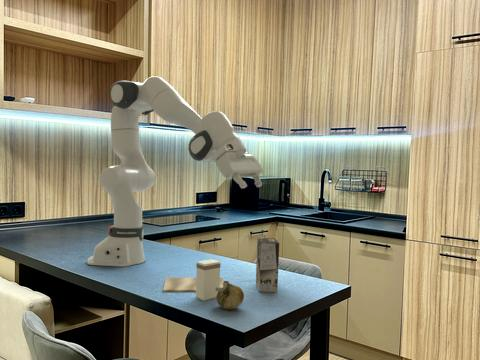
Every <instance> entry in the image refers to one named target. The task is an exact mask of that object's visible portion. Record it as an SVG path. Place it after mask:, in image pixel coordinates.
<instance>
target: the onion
mask: <svg viewBox="0 0 480 360" xmlns="http://www.w3.org/2000/svg"><path fill="white" fill-rule="evenodd" d="M222 284H223V287H221V288H220V287H216V291H218V293H217V296H216V298H215V299H216V303H217V304H218V305H219V307H220V308H222V309H224V310H234V309H235V310H236V309H237V308H238V307H240V305H241V304H242V303H243V301H244V298H245V294H244V291H243V289H242V288H241V287H240V286H237V285H235V284H233V283H230V281H228V280H224V283H222Z"/></svg>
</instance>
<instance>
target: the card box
mask: <svg viewBox="0 0 480 360" xmlns="http://www.w3.org/2000/svg"><path fill="white" fill-rule="evenodd" d="M195 267H196V276H195V278H196V292H195V298H197V299H200V300H201V301H207V300H212V299H216V296H217V293H218V291H216V287H220V278H221V261H219V260H216V259H213V258H212V259H205V260H199V261H196V266H195Z"/></svg>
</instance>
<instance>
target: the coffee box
mask: <svg viewBox="0 0 480 360" xmlns="http://www.w3.org/2000/svg"><path fill="white" fill-rule="evenodd" d="M279 257H280V242H279V241H278V240H277V239H276V238H274V237H271V238H270V237H269V238H268V237H267V238H265V237H264V238H256V261H255V262H256V263H255V265H256V267H255V271H256V272H255V285H256V287H257V290H258V292H264V293H265V292H268V293H269V292H270V293H271V292H273V293H276V292H277V293H278V286H279V284H278V283H279V260H280V258H279Z"/></svg>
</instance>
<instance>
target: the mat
mask: <svg viewBox="0 0 480 360" xmlns="http://www.w3.org/2000/svg"><path fill="white" fill-rule="evenodd" d="M224 281H225V280H224V277H220V288H221V287H223V284H222V283H224ZM162 292H163V293H169V292H170V293H176V292H178V293H181V292H184V293H185V292H186V293H191V292H192V293H194V292H195V293H196V277H165V280H164V284H163V288H162Z"/></svg>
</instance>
